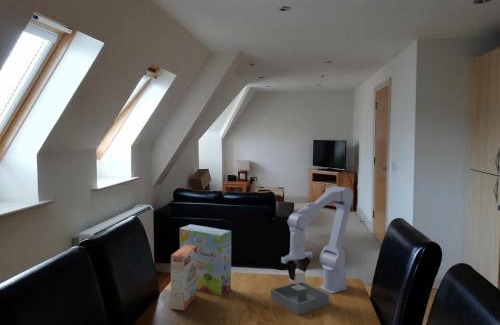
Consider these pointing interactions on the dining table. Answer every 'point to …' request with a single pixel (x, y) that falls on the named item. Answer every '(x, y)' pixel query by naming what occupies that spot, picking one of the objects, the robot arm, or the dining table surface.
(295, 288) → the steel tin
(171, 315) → the dining table surface
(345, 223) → the robot arm
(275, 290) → the tote
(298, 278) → the white cube
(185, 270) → the cracker box
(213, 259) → the snack box
